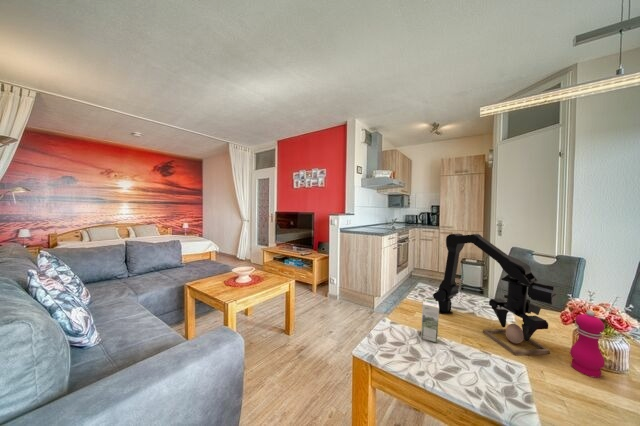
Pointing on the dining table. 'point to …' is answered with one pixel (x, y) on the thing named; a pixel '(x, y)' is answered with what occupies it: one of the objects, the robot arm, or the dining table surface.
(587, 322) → the pepper mill
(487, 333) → the walnut frame
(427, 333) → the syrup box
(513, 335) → the egg
